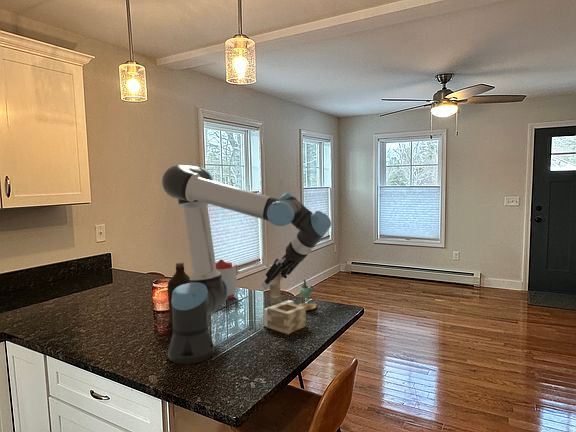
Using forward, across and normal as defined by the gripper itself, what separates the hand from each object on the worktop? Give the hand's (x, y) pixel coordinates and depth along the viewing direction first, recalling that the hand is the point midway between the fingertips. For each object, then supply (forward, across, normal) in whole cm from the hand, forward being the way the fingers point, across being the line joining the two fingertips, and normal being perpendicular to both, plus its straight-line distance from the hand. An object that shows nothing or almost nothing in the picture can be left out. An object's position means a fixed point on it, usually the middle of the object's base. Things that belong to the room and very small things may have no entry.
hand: (268, 286), depth 149 cm
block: (+13, +9, -14) cm, 21 cm away
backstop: (+17, +12, -9) cm, 23 cm away
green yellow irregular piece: (+20, +31, -7) cm, 37 cm away
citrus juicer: (+49, +18, +24) cm, 57 cm away
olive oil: (+39, -16, +13) cm, 44 cm away
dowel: (+1, 0, -6) cm, 7 cm away
